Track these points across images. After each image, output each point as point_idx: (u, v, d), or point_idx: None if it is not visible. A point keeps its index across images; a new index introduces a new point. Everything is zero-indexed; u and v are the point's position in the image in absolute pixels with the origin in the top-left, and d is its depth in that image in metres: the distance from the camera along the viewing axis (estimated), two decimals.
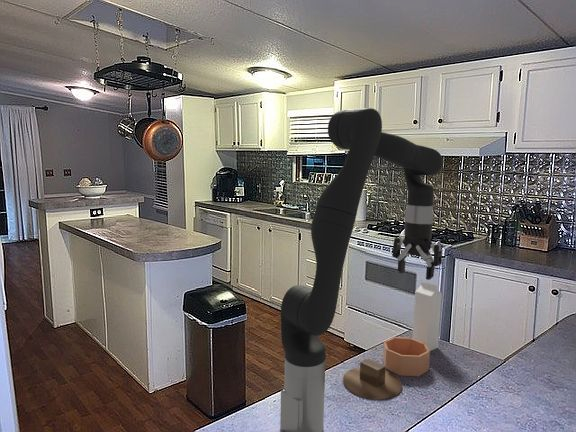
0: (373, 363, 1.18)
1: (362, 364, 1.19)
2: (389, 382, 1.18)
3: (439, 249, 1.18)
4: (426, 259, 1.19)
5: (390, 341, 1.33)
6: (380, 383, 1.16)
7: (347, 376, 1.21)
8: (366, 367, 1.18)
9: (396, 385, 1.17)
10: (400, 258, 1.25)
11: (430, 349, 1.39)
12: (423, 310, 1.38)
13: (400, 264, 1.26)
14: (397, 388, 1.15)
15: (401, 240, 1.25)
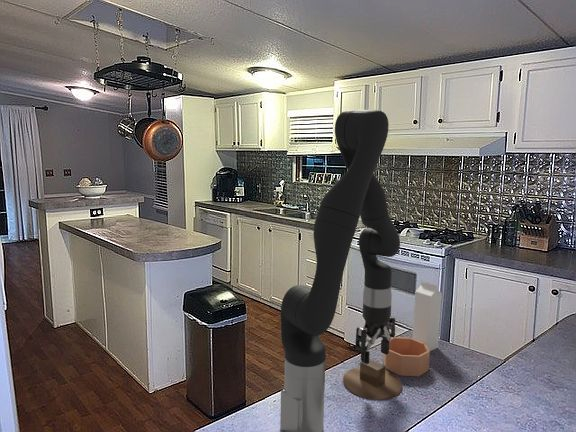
0: (373, 363, 1.18)
1: (362, 364, 1.19)
2: (389, 382, 1.18)
3: None
4: (388, 335, 1.18)
5: (390, 341, 1.33)
6: (380, 383, 1.16)
7: (347, 376, 1.21)
8: (365, 367, 1.18)
9: (396, 385, 1.17)
10: (369, 348, 1.13)
11: (430, 349, 1.39)
12: (423, 310, 1.38)
13: (368, 354, 1.14)
14: (397, 388, 1.15)
15: (366, 329, 1.13)
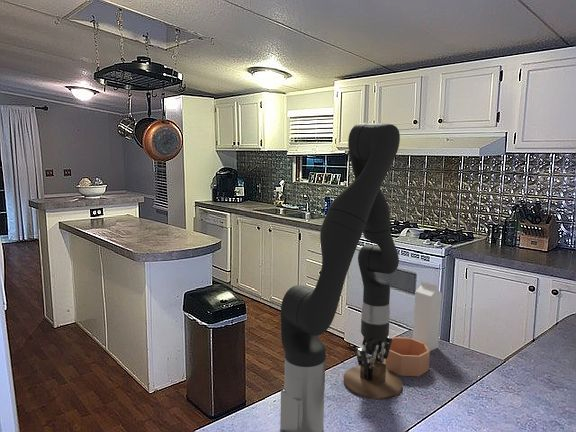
0: (373, 362, 1.18)
1: None
2: (389, 381, 1.18)
3: None
4: (382, 355, 1.18)
5: None
6: (380, 382, 1.16)
7: (348, 375, 1.21)
8: None
9: (396, 384, 1.17)
10: (372, 365, 1.16)
11: (430, 349, 1.39)
12: (423, 310, 1.38)
13: (371, 371, 1.16)
14: (397, 387, 1.15)
15: (364, 348, 1.14)
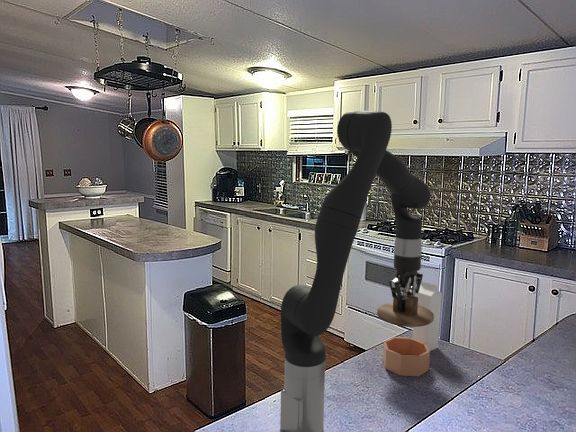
0: (406, 295, 1.25)
1: None
2: (421, 313, 1.24)
3: None
4: (414, 289, 1.25)
5: (390, 341, 1.33)
6: (413, 313, 1.23)
7: (381, 309, 1.28)
8: None
9: (428, 315, 1.23)
10: (405, 297, 1.22)
11: (430, 349, 1.39)
12: None
13: (404, 303, 1.23)
14: (430, 317, 1.22)
15: (398, 280, 1.20)
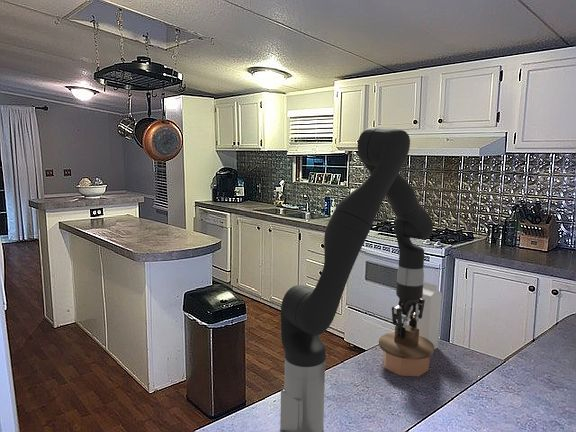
0: (407, 327, 1.28)
1: None
2: (422, 344, 1.27)
3: None
4: (417, 315, 1.28)
5: None
6: (414, 345, 1.26)
7: (383, 339, 1.30)
8: None
9: (429, 346, 1.26)
10: (405, 325, 1.24)
11: None
12: (423, 310, 1.38)
13: (404, 330, 1.25)
14: (430, 349, 1.25)
15: (400, 307, 1.23)
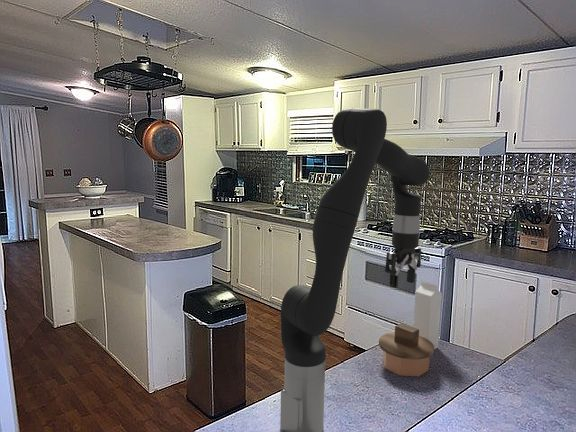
0: (407, 327, 1.28)
1: (397, 328, 1.28)
2: (422, 344, 1.27)
3: None
4: (415, 264, 1.26)
5: None
6: (414, 345, 1.26)
7: (383, 339, 1.30)
8: (400, 330, 1.27)
9: (429, 346, 1.26)
10: (397, 272, 1.21)
11: None
12: (423, 310, 1.38)
13: (397, 278, 1.22)
14: (430, 349, 1.25)
15: (395, 254, 1.21)
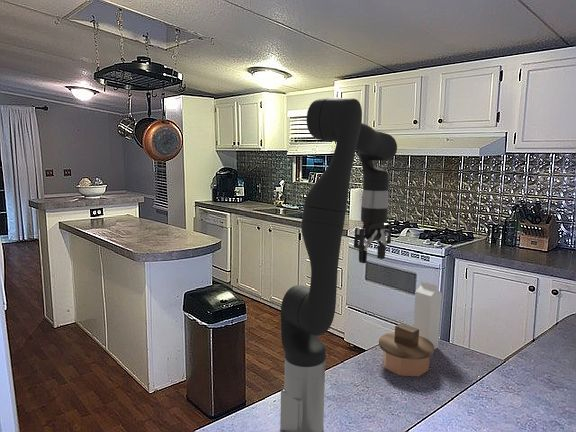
0: (407, 327, 1.28)
1: (397, 328, 1.28)
2: (422, 344, 1.27)
3: None
4: (384, 240, 1.26)
5: None
6: (414, 345, 1.26)
7: (383, 339, 1.30)
8: (400, 330, 1.27)
9: (429, 346, 1.26)
10: (366, 247, 1.21)
11: None
12: (423, 310, 1.38)
13: (366, 254, 1.21)
14: (430, 349, 1.25)
15: (364, 229, 1.20)
